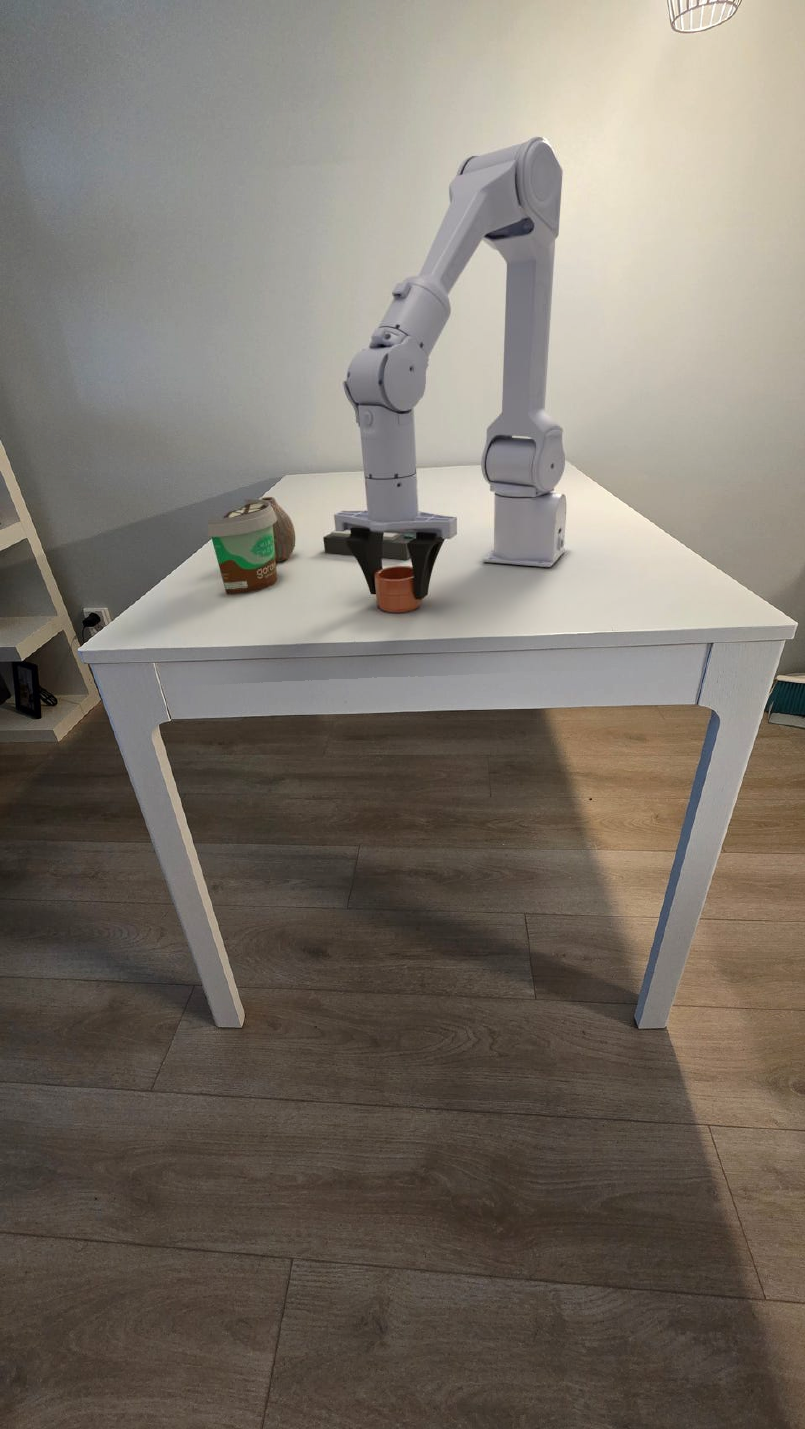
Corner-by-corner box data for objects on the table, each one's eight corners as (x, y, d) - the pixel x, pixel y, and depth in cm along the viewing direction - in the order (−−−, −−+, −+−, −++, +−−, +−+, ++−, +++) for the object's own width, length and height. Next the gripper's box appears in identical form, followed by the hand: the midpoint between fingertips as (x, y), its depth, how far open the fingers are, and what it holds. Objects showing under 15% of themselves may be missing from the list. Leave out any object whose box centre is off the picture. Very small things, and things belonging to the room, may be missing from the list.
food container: (265, 599, 82) (251, 519, 77) (221, 598, 83) (204, 520, 78) (298, 568, 92) (288, 496, 87) (258, 568, 93) (246, 497, 88)
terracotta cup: (429, 599, 78) (428, 567, 76) (410, 616, 74) (408, 582, 72) (390, 595, 80) (387, 564, 78) (369, 611, 76) (366, 578, 74)
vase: (243, 564, 96) (232, 503, 91) (268, 550, 101) (259, 493, 97) (283, 566, 93) (273, 505, 89) (306, 553, 99) (298, 494, 94)
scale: (437, 539, 101) (436, 520, 99) (407, 560, 92) (405, 539, 91) (360, 533, 106) (358, 515, 105) (324, 552, 98) (322, 533, 97)
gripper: (314, 480, 69) (329, 599, 76) (437, 484, 63) (441, 613, 70) (347, 467, 75) (358, 580, 82) (463, 470, 69) (465, 591, 76)
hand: (398, 594), depth 76 cm, fingers closed on terracotta cup, 5 cm apart
